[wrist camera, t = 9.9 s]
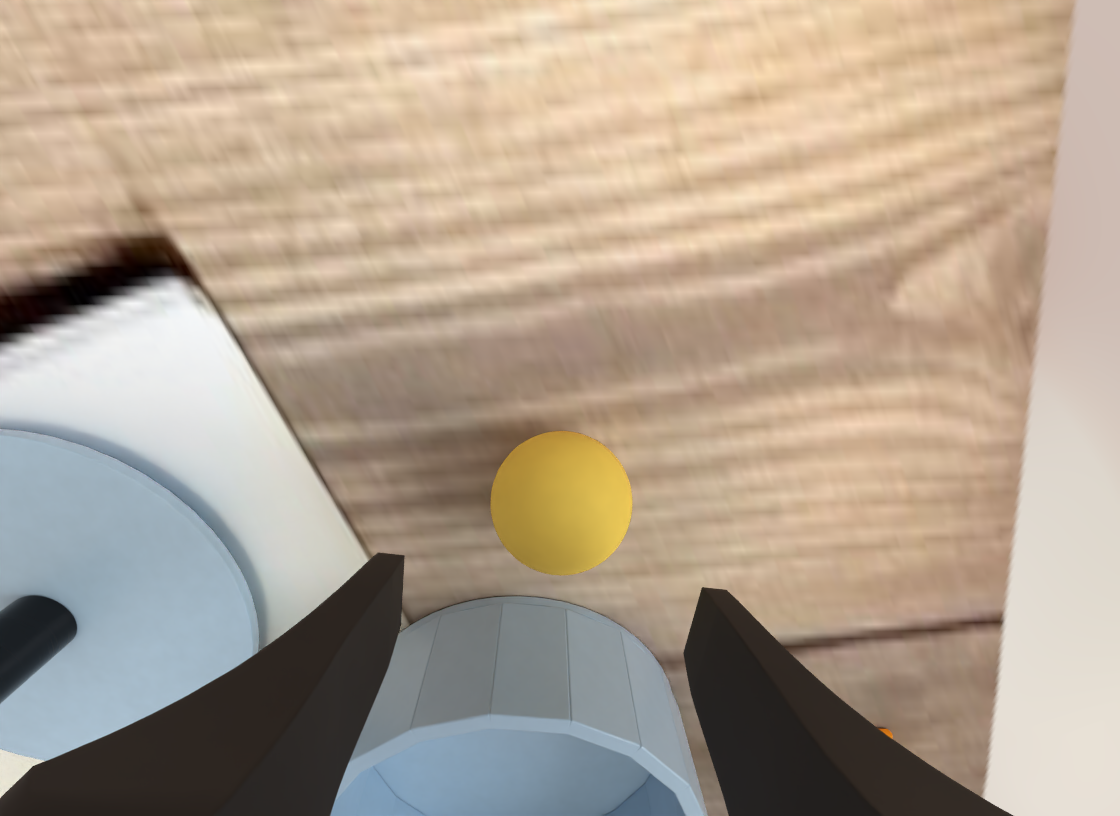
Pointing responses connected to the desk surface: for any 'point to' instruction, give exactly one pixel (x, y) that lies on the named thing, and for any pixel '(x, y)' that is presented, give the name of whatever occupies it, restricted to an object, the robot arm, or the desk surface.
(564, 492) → the ball
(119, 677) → the lid
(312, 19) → the desk surface
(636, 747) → the pot
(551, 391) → the desk surface
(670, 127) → the desk surface
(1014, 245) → the desk surface
